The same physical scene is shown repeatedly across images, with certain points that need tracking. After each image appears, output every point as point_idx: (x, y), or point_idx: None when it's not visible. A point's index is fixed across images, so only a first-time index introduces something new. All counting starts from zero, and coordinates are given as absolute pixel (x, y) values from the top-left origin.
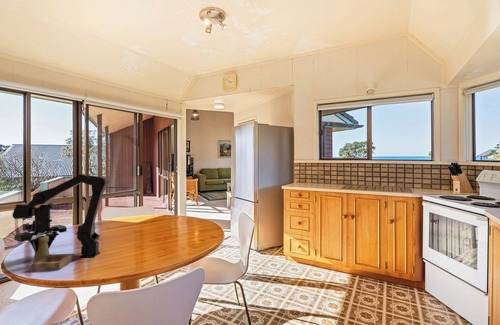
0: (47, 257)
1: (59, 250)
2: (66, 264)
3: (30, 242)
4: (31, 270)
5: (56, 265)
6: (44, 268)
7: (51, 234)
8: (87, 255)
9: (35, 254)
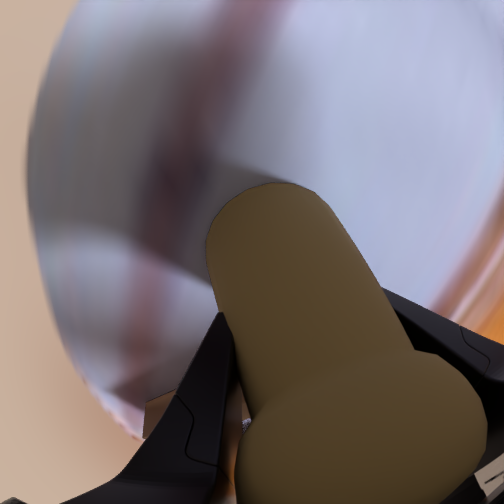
0: (249, 417)
1: (462, 134)
2: None
3: (141, 469)
4: (147, 406)
5: None
6: None
7: (476, 473)
8: None
9: (218, 305)
